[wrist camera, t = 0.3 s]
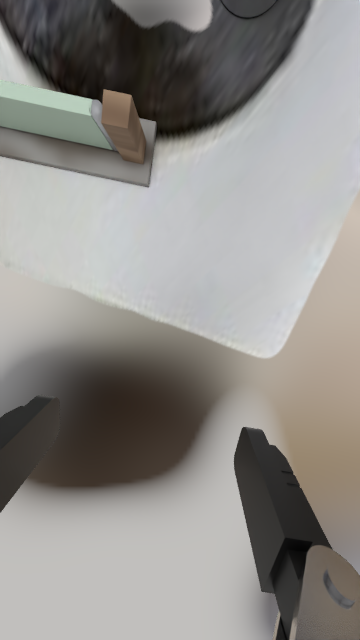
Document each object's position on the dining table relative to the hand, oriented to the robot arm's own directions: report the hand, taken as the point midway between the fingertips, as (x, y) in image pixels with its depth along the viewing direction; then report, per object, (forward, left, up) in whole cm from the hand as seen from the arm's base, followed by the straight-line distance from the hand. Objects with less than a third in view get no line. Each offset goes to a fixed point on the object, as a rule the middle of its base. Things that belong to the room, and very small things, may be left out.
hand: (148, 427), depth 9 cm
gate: (-22, -22, -27) cm, 41 cm away
